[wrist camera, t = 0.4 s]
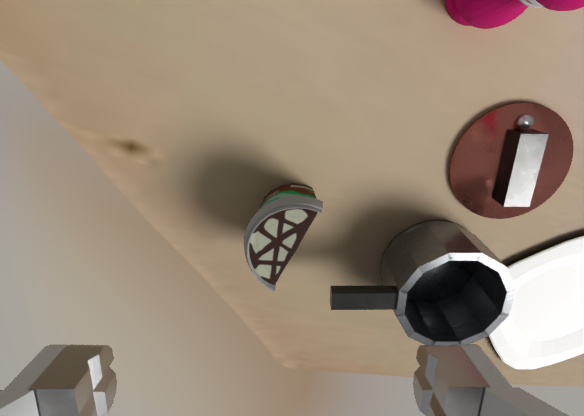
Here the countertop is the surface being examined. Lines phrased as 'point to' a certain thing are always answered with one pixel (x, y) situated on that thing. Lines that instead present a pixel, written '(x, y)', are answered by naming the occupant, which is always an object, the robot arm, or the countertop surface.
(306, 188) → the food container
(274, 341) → the countertop surface
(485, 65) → the countertop surface
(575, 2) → the pepper mill
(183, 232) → the countertop surface
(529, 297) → the plate
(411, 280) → the pot
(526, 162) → the lid
